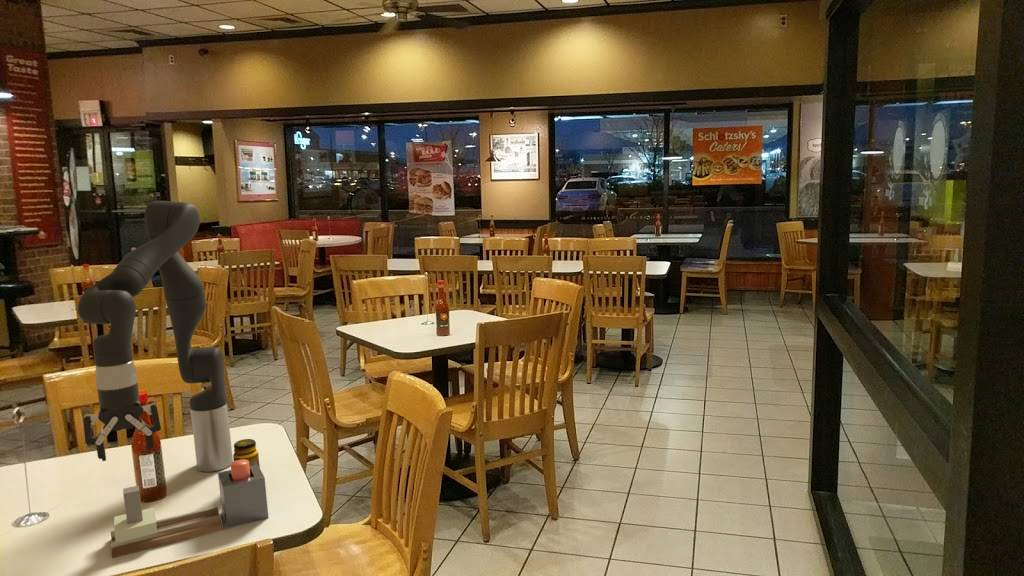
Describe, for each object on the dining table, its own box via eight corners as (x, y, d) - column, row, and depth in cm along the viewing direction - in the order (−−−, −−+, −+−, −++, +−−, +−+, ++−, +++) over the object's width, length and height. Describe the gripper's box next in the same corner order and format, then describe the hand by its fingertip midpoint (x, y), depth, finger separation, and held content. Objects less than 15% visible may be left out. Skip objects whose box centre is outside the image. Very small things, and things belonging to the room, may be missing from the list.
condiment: (266, 487, 182) (261, 443, 180) (231, 496, 177) (226, 451, 175) (258, 477, 188) (254, 434, 186) (224, 486, 183) (220, 442, 181)
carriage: (115, 527, 158) (110, 487, 156) (155, 517, 162) (150, 478, 160) (115, 543, 151) (110, 501, 149) (157, 532, 155) (152, 492, 153)
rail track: (112, 539, 158) (110, 528, 158) (217, 513, 169) (216, 503, 168) (112, 557, 151) (110, 546, 150) (222, 529, 161) (221, 519, 161)
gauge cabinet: (222, 512, 169) (217, 472, 168) (261, 502, 174) (257, 464, 172) (227, 528, 162) (223, 487, 160) (268, 517, 166) (264, 477, 164)
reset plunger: (231, 486, 167) (229, 462, 166) (249, 481, 169) (247, 458, 168) (234, 492, 164) (231, 468, 163) (252, 488, 166) (250, 464, 165)
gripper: (153, 373, 157) (162, 442, 160) (78, 384, 151) (89, 456, 153) (155, 381, 151) (164, 453, 154) (77, 393, 144) (88, 469, 147)
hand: (126, 455), depth 153 cm, fingers open, 8 cm apart
